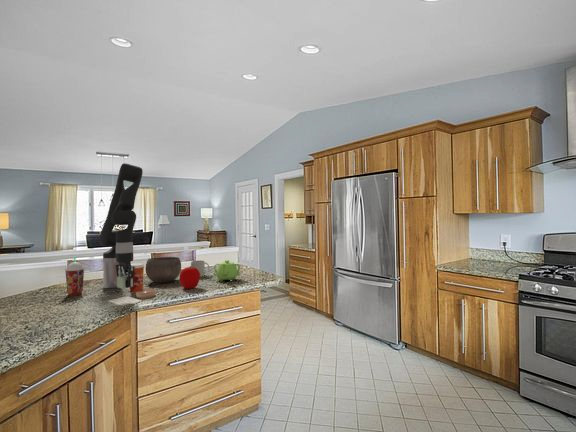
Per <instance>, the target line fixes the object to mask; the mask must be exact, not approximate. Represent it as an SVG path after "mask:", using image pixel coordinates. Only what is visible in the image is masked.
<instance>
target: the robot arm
mask: <svg viewBox="0 0 576 432" xmlns="http://www.w3.org/2000/svg"><path fill="white" fill-rule="evenodd" d="M143 171H144V170H143V168H142V167H140V166H137V165H133V164H130V163H126V162H123V163H122V164H121V165H120V167H119V171H118V176H117V180H116V184H115V189H114V192H113V194H112V195H113V196H112V197H111V201H110V204H109V208H108V212H107V215H106V218H105V221H104V224H103V225H102V228H101V231H100V234H99V241H98V242H99V244H100V246H102V247H110V246H111V248H109V250H106V251H105V252H103V254H102V265H103V266H102V271H103V273H102V276H103V279H102V281H103V283H102V284H103V288H104V289H114V288H118V287H117V277H119V276H125V286H126V288H129V289H130V287H131V279H132V278H134V269H135V267H134V266H133V267H132V266H131V264H132V263H131V262H133V261H134V243H133V239H134V238H133V233H134V232H133V231H134V227H135V224H136V221H137V213H136V212H135V211H134V208H135V203H136V197H137V193H138V190H139V188H140V184H141V182H142V177H143ZM124 181H126V182H129V183H132V184H131V185H130V186H128V187H127V188H125V184H124ZM115 226H127V227H126V228H124V229H114V228H115ZM131 274H132V275H131ZM126 288H125V289H126Z"/></svg>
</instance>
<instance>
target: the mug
mask: <svg viewBox="0 0 576 432" xmlns="http://www.w3.org/2000/svg"><path fill="white" fill-rule="evenodd" d="M205 265H206V266H207V270H206V271H205V267H206V266H205ZM190 266H191V267H196V268H197V269H198V270H199V272H200V278H203V277H205V276H204V275H205V274H207V273H209V271H210V264H209V263H207V262H205V260H192V261H190ZM202 276H203V277H202Z"/></svg>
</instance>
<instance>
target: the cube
mask: <svg viewBox="0 0 576 432" xmlns="http://www.w3.org/2000/svg"><path fill="white" fill-rule="evenodd" d="M131 287H133V278H132V279H131ZM116 288H120V289H126V286H125V276H119V277H117V287H116Z"/></svg>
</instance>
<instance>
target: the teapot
mask: <svg viewBox="0 0 576 432" xmlns="http://www.w3.org/2000/svg"><path fill="white" fill-rule="evenodd" d="M237 267H238V268H237ZM213 268H214V269H213V270H214V271H213V276H215V277H216V278H217V279H218V280H219V282H220V281H222V282H224V281H223V280H226V281H227V280H228V281H229V280H235V279H236V278H237V276H238V277H239V276H241V274H242V273H241V272H240V269H241V265H240V264H238V263H235V262H232V261H230V260H228V259H227V260H224V262H220V263H216V264H214V267H213ZM234 278H235V279H234Z"/></svg>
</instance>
